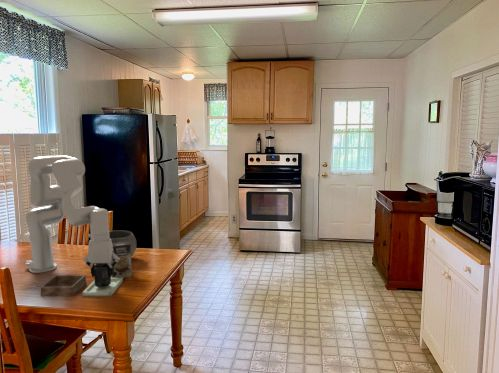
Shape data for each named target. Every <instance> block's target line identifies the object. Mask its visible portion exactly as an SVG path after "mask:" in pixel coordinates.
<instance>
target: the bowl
mask: <svg viewBox="0 0 499 373" xmlns="http://www.w3.org/2000/svg"><path fill="white" fill-rule="evenodd" d="M109 239H111V241H112V243H119V242H127V241H128V242H129V243H130V247H131V258H132V257H133V256H134V254H135V252H136V251H137V244H138V243H137V239H136V237H135V234H133V232H132V231H129V230H109Z"/></svg>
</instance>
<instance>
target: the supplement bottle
mask: <svg viewBox="0 0 499 373" xmlns="http://www.w3.org/2000/svg"><path fill="white" fill-rule="evenodd" d="M111 278H112V277H109V265H108V264H107V263H95V266H94V277H93V279H94V280H93V281H94V282H95V286H96V287H106V286H109V285H110V284H111Z"/></svg>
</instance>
